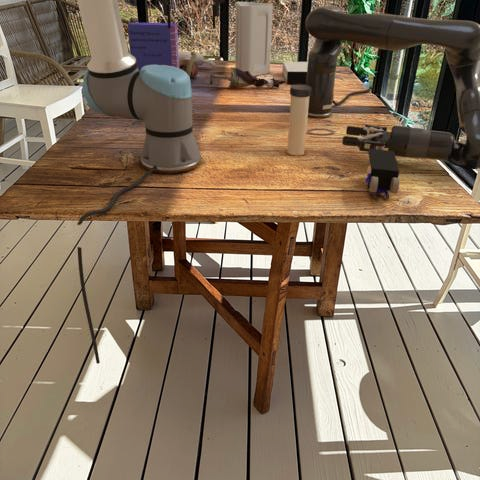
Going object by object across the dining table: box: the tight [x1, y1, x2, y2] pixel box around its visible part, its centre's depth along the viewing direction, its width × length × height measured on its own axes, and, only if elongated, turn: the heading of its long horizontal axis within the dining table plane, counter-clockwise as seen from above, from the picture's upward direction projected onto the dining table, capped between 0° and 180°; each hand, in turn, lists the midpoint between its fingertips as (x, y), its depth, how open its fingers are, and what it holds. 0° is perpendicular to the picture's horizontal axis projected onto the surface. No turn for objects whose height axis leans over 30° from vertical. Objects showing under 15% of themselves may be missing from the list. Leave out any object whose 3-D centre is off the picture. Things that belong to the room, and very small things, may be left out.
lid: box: [289, 84, 311, 97], centre depth 122 cm, size 5×5×2 cm
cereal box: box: [126, 21, 180, 71], centre depth 181 cm, size 17×5×24 cm, turn 86°
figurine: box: [209, 66, 287, 89], centre depth 190 cm, size 24×8×30 cm
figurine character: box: [365, 149, 400, 200], centre depth 109 cm, size 7×8×15 cm
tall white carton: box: [234, 1, 274, 77], centre depth 210 cm, size 19×15×28 cm
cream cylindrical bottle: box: [286, 95, 309, 157], centre depth 127 cm, size 5×5×17 cm
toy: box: [178, 51, 217, 69], centre depth 222 cm, size 24×25×7 cm
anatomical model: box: [179, 51, 199, 79], centre depth 200 cm, size 13×9×15 cm
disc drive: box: [281, 61, 308, 85], centre depth 207 cm, size 18×22×5 cm
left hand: (191, 28), depth 146 cm, fingers open, 13 cm apart
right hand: (344, 135), depth 125 cm, fingers open, 8 cm apart
